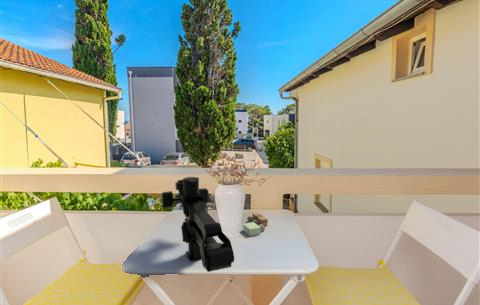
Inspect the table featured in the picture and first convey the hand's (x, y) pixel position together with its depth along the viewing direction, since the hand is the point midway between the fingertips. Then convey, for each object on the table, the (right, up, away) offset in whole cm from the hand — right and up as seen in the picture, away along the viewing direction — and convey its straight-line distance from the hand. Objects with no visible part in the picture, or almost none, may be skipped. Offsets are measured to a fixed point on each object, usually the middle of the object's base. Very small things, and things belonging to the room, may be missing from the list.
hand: (181, 193), depth 123 cm
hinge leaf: (+32, -17, 0) cm, 36 cm away
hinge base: (+33, -15, +10) cm, 38 cm away
